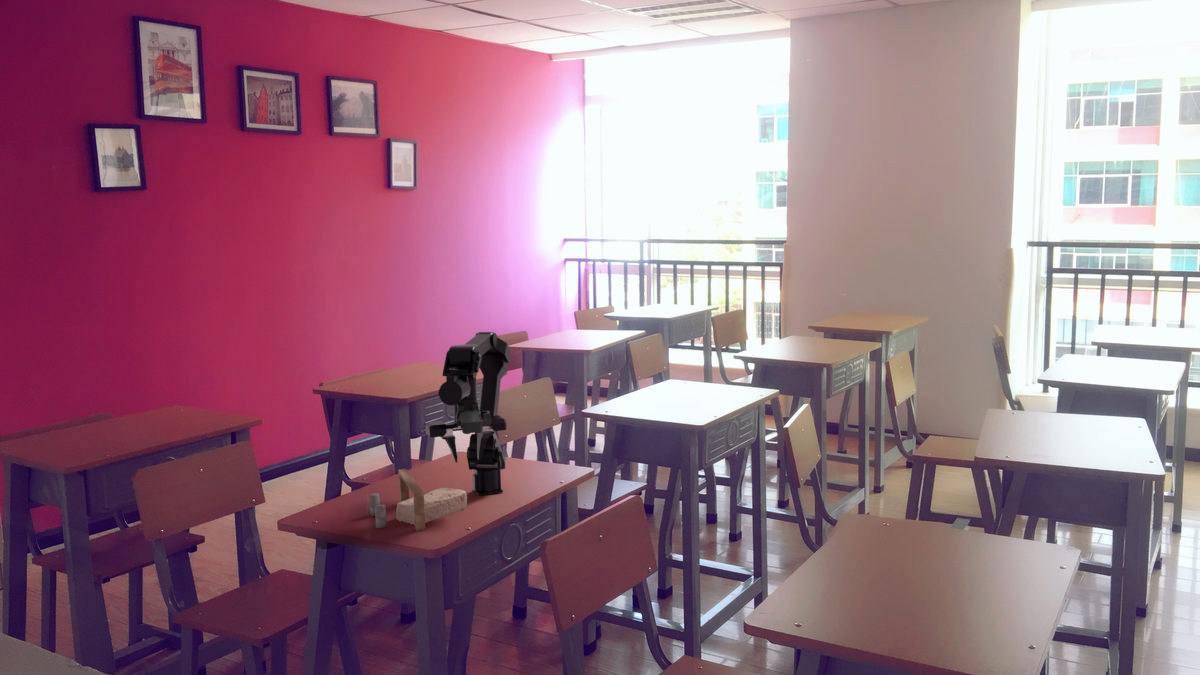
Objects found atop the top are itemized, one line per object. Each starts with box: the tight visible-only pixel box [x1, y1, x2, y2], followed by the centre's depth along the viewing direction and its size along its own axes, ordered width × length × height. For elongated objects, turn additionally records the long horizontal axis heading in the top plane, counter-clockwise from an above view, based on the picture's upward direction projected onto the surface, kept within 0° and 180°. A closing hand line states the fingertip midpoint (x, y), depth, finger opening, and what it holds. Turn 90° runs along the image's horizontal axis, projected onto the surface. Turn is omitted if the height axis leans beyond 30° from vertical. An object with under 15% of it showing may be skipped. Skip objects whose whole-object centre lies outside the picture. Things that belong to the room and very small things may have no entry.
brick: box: [395, 487, 468, 526], centre depth 225 cm, size 17×8×5 cm, turn 144°
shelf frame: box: [368, 468, 426, 532], centre depth 221 cm, size 10×23×9 cm, turn 21°
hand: (467, 460), depth 227 cm, fingers open, 5 cm apart
